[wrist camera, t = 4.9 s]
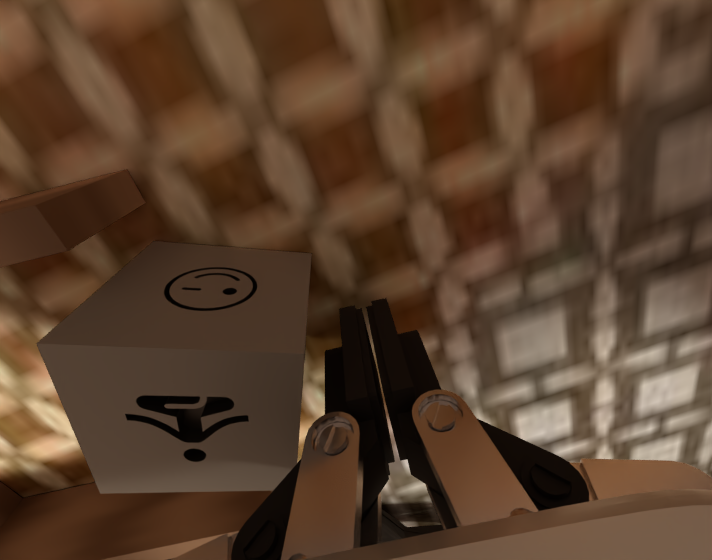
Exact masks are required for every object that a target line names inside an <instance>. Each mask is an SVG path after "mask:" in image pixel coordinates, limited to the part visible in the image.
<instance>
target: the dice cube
mask: <svg viewBox="0 0 712 560" xmlns="http://www.w3.org/2000/svg"><path fill="white" fill-rule="evenodd" d="M311 255H312V253H300V252H288V251H275V250H262V249H249V248H237V247H224V246H211V245H198V244H186V243H173V242H160V241H153V242H152V243H151V244H150V245H149V246H147V247H146V248H145V249H144V250H143V251H142V252H141V253H139V254H138V255H137V256H136V257H135V258H134V259H133V260H131V261H130V262H129V263H128V264H127V265H126V266H125V267H123V268H122V269H121V270H120V271H119V272H118V273H117V274H115V275H114V276H113V277H112V278H111V279H110V280H109V281H107V282H106V283H105V284H104V285H103V286H102V287H101V288H99V289H98V290H97V291H96V292H95V293H94V294H93V295H91V296H90V297H89V298H88V299H87V300H86V301H85V302H83V303H82V304H81V305H80V306H79V307H78V308H76V309H75V310H74V311H73V312H72V313H71V314H70V315H68V316H67V317H66V318H65V319H64V320H63V321H62V322H60V323H59V324H58V325H57V326H56V327H55V328H54V329H52V330H51V331H50V332H49V333H48V334H47V335H46V336H44V337H43V338H42V339H41V340H40V341H39V342H38V343H36V344H37V346H38V349H39V351H40V353H41V356H42V358H43V360H44V363H45V365H46V367H47V370H48V372H49V374H50V377H51V379H52V382H53V384H54V386H55V389H56V391H57V393H58V396H59V398H60V400H61V403H62V405H63V407H64V410H65V412H66V414H67V417H68V419H69V421H70V424H71V426H72V428H73V431H74V433H75V436H76V438H77V440H78V443H79V445H80V447H81V450H82V452H83V454H84V457H85V459H86V461H87V464H88V466H89V468H90V471H91V473H92V475H93V478H94V480H95V482H96V485H97V487H98V490H99V492H100V494H104V493H162V492H220V491H273V490H274V489H275V488H276V487H277V486H278V485H279V483H280V482H281V481H282V480H283V479H284V478H285V477H286V476H287V474H288V473H289V472H290V471H291V470H292V469H293V468H294V466H295V465H296V464H297V458H298V443H299V429H300V415H301V401H302V386H303V372H304V358H305V343H306V328H307V314H308V299H309V284H310V270H311Z"/></svg>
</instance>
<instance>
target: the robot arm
mask: <svg viewBox="0 0 712 560" xmlns="http://www.w3.org/2000/svg"><path fill="white" fill-rule="evenodd" d="M371 303H372V306H368V307H366V309H367V314H368V319H369V324H370V329H371V334H372V339H373V344H374V349H375V354H376V359H377V364H378V369H379V374H380V379H381V384H382V388H383V393H384V397H385V401H386V405H387V409H388V413H389V417H390V421H391V425H392V429H393V433H394V437H395V441H396V445H397V449H398V453H399V457H400V461H401V460H405V459H408V463H409V468H410V472H411V475H413V476H414V477H416V478H417V479H419V480H420V481H422V482H424V483H425V484H426V487H427V491H428V493H429V495H430V498H431V500H432V502H433V505H434V507H435V510H436V512H437V514H438V517H439V519H440V522H441V524H442V526H443V529H444V530H443V531H438V532H433V533H428V534H423V535H418V536H413V537H408V538H404V539H399V540H394V541H389V542H384V543H382V504H381V493H380V492H381V490H382V489H383V487H384V486H385V484H386V483H387V481H388V480H389V477H388V475H390V471H389V465H388V463H391V462H395V460H394V455H393V450H392V444H391V439H390V434H389V429H388V424H387V419H386V414H385V408H384V403H383V398H382V393H381V388H380V383H379V378H378V372H377V368H376V364H375V360H374V356H373V352H372V348H371V344H370V340H369V336H368V332H367V328H366V324H365V320H364V316H363V312H362V308H359V309H356V308H355V305H354V306H349V307H345V308H341V309H339V312H340V325H341V339H342V347H338V348H334V349H330V350H326V351H325V415H323V416H321V417H320V418H319V419H317V420H316V421H315V422H314V423H313V424H312V426H311V427H310V429H309V430H308V433H307V436H306V439H305V444H304V449H303V454H302V458H301V460H300V461H299V462H298V463H297V464H296V465H295V466H294V468H293V469H292V470H291V471H290V472H289V473H288V474H287V476H286V477H285V478H284V479H283V480H282V481H281V482H280V483H279V485H278V486H277V487H276V488H275V489H274V490H273V491H272V493H271V494H270V495H269V496H268V497H267V498H266V499H265V500H264V502H263V503H262V504H261V505H260V506H259V507H258V508H257V510H256V511H255V512H254V513H253V514H252V515H251V516H250V517H249V519H248V520H247V521H246V522H245V523H244V525H243V526H242V528H241V529H240V530H239V532H238V533H236V534H234V535H232V536H230V535H229V534H228V533H226V534H224V535H222V536H220V537H218V538H216V539H213V540H211V541H209V542H207V543H205V544H203V545H201V546H199V547H197V548H195V549H192V550H190V551H188V552H186V553H184V554H182V555H180V556H178V557H176V558H173V559H171V560H712V478H711V477H710V476H709V475H707V474H706V473H704V472H703V471H701V470H700V469H697V468H695V467H692V466H690V465H688V464H685V463H681V462H675V461H658V460H617V459H581V461H580V463H570V462H567V461H566V460H564V459H562V458H561V457H559V456H557V455H555V454H553V453H551V452H548V451H546V450H544V449H542V448H540V447H538V446H535V445H533V444H531V443H529V442H527V441H525V440H522V439H520V438H518V437H516V436H514V435H511V434H509V433H507V432H505V431H503V430H501V429H498V428H496V427H494V426H492V425H490V424H488V423H485V422H483V421H481V420H479V419H477V418H476V417H475V415H474V414H473V413H472V411H471V410H470V408H469V407H468V405H467V404H466V402H465V401H464V400H463V399H462V398H461V397H460V396H458V395H457V394H455V393H453V392H450V391H447V390H441V388H440V385H439V383H438V380H437V378H436V375H435V373H434V370H433V367H432V365H431V362H430V360H429V357H428V355H427V352H426V350H425V347H424V345H423V342H422V340H421V337H420V335H419V333H418V331H417V330H414V331H410V332H405V333H401V334H397V331H396V328H395V325H394V321H393V318H392V315H391V312H390V308H389V305H388V302H387V299H386V298H385V299H380V300H376V301H371Z"/></svg>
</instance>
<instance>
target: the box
mask: <svg viewBox="0 0 712 560" xmlns="http://www.w3.org/2000/svg"><path fill="white" fill-rule="evenodd" d="M143 204H145V201H144V199H143V197H142V196H141V194H140V192H139V190H138V188H137V186H136V185H135V183H134V181H133V179H132V177H131V176H130V174H129V172H128V170H123V171H119V172H115V173H111V174H107V175H103V176H99V177H95V178H91V179H87V180H83V181H79V182H75V183H71V184H67V185H63V186H60V187H56V188H52V189H48V190H44V191H40V192H36V193H32V194H28V195H24V196H20V197H16V198H12V199H8V200H4V201H0V267H4V266H8V265H12V264H16V263H20V262H24V261H28V260H32V259H36V258H40V257H45V256H49V255H53V254H57V253H61V252H65V251H68V250H70V249H72V248H73V247H75V246H76V245H78V244H80V243H81V242H83V241H85V240H86V239H88V238H89V237H91V236H93V235H94V234H96V233H98V232H99V231H101V230H102V229H104V228H106V227H107V226H109V225H110V224H112V223H114V222H115V221H117V220H119V219H120V218H122V217H123V216H125V215H127V214H128V213H130V212H132V211H133V210H135V209H136V208H138V207H140V206H141V205H143ZM271 493H272V491H220V492H162V493H104V494H100V492H99V490H98V487H97V485H96V482H95V483H91V484H86V485H82V486H77V487H73V488H68V489H64V490H59V491H54V492H50V493H45V494H41V495H36V496H32V497H27V498H22V497H20V496H19V495H17V494H16V493H15V492H13V491H12V490H11V489H9V488H8V487H7V486H5V485H4V484H2V483H1V482H0V560H167V559H172V558H176V557H178V556H180V555H182V554H184V553H186V552H188V551H190V550H192V549H195V548H197V547H199V546H201V545H203V544H205V543H207V542H209V541H211V540H213V539H216V538H218V537H220V536H222V535H224V534H226V533H228V534H229V535H230V536H232V535H234V534H236V533H238V532H239V530H240V529H241V528H242V526H243V525H244V523H245V522H246V521H247V520H248V519H249V517H250V516H251V515H252V514H253V513H254V512H255V511H256V510H257V508H258V507H259V506H260V505H261V504H262V503H263V502H264V500H265V499H266V498H267V497H268V496H269V495H270V494H271Z"/></svg>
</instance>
